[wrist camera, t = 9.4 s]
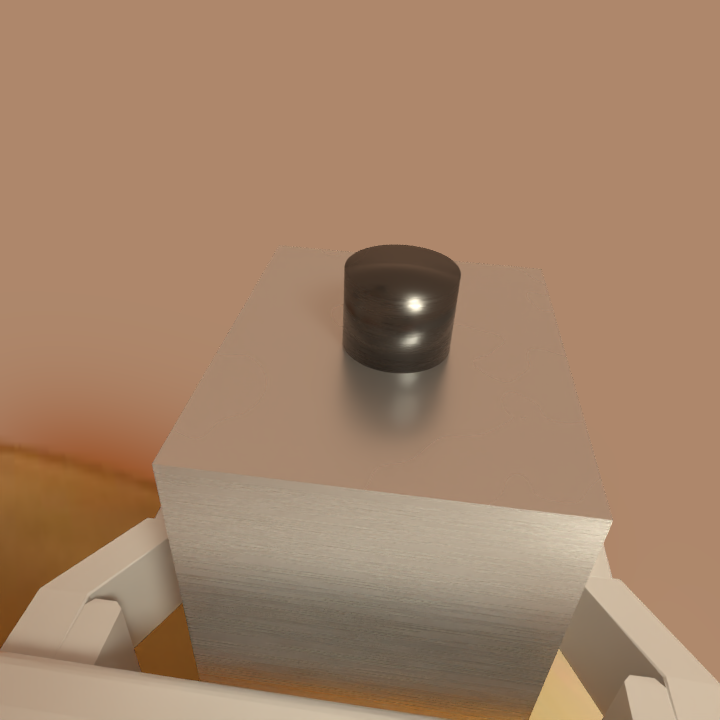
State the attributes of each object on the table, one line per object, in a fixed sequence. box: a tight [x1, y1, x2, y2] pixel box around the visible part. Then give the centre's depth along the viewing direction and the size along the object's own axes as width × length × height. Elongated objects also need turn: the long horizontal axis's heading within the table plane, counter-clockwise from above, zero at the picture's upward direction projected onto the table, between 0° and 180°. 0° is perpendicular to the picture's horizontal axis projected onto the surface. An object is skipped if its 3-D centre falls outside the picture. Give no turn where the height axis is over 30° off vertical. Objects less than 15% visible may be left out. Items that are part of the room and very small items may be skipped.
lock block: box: [152, 245, 613, 720], centre depth 11 cm, size 5×6×11 cm
